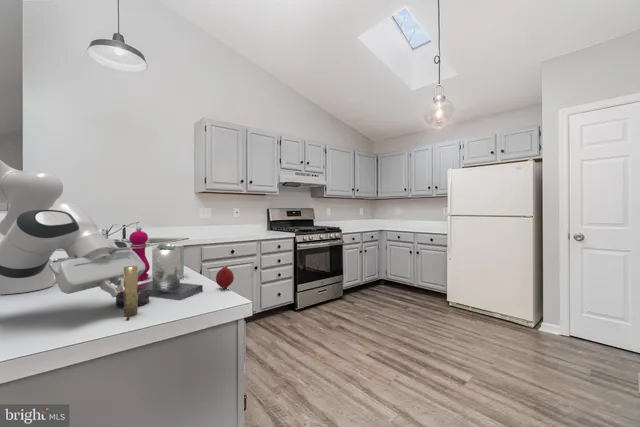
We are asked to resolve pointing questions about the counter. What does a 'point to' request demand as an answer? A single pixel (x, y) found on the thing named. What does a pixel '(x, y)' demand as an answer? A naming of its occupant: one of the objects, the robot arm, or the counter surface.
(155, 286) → the instrument stand
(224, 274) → the onion
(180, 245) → the small box
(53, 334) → the counter surface
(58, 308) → the counter surface
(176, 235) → the counter surface
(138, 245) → the pepper mill
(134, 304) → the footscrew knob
